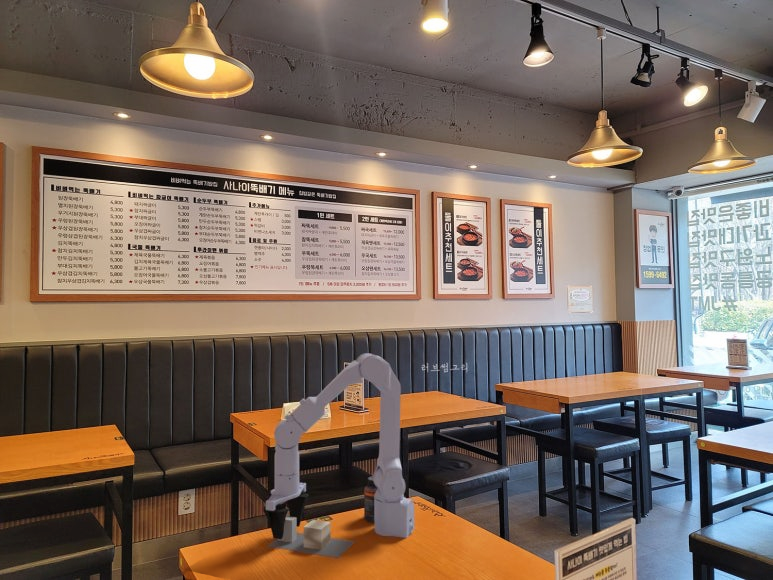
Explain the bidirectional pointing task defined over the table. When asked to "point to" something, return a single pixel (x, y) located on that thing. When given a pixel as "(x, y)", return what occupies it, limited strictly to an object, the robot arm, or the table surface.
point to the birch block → (317, 534)
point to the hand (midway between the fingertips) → (286, 531)
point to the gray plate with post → (296, 541)
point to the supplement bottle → (369, 500)
